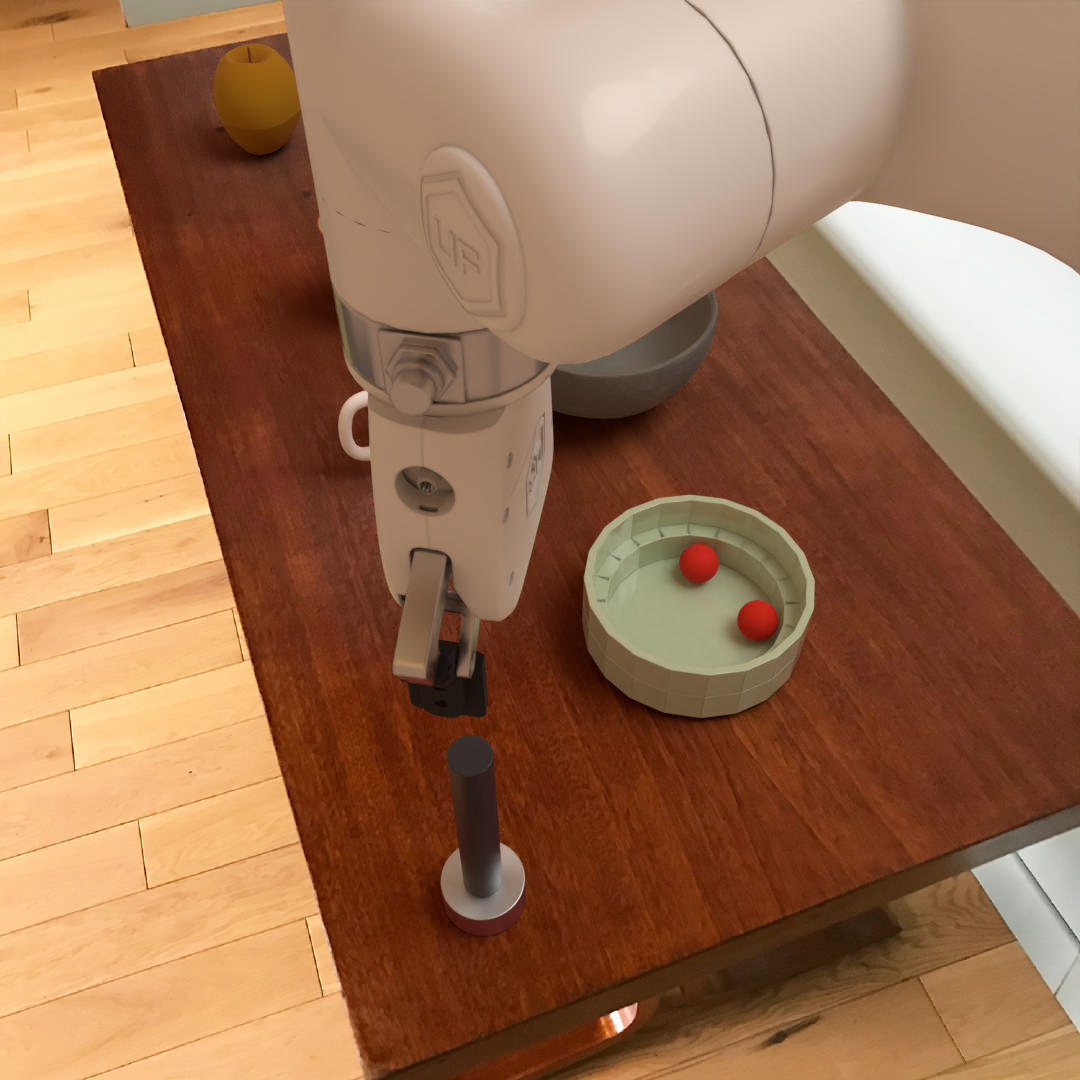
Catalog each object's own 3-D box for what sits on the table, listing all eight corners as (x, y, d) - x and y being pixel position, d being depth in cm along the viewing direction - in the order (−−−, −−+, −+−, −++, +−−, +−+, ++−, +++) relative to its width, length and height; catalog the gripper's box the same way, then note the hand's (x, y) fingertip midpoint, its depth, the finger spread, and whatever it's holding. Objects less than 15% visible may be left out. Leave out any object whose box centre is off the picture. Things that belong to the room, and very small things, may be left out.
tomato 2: (774, 651, 82) (781, 627, 79) (733, 646, 82) (738, 621, 80) (776, 619, 83) (782, 594, 81) (735, 613, 84) (741, 589, 82)
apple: (295, 174, 125) (276, 73, 116) (212, 167, 126) (187, 66, 117) (320, 129, 131) (303, 30, 122) (240, 123, 132) (218, 24, 123)
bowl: (752, 407, 100) (769, 318, 92) (559, 496, 93) (560, 407, 85) (624, 290, 111) (630, 201, 103) (444, 361, 104) (436, 272, 96)
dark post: (517, 943, 68) (510, 809, 55) (434, 929, 69) (407, 792, 56) (532, 864, 72) (529, 719, 58) (453, 851, 72) (432, 704, 59)
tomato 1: (714, 593, 85) (719, 568, 83) (675, 587, 85) (679, 563, 83) (717, 563, 87) (722, 538, 85) (679, 558, 87) (682, 533, 85)
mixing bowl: (797, 737, 78) (812, 690, 73) (567, 703, 79) (568, 655, 75) (802, 560, 88) (816, 509, 83) (599, 534, 90) (601, 483, 85)
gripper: (509, 513, 31) (520, 802, 44) (602, 178, 42) (588, 488, 55) (253, 478, 32) (337, 771, 45) (409, 159, 43) (441, 468, 56)
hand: (475, 615), depth 50 cm, fingers open, 9 cm apart
